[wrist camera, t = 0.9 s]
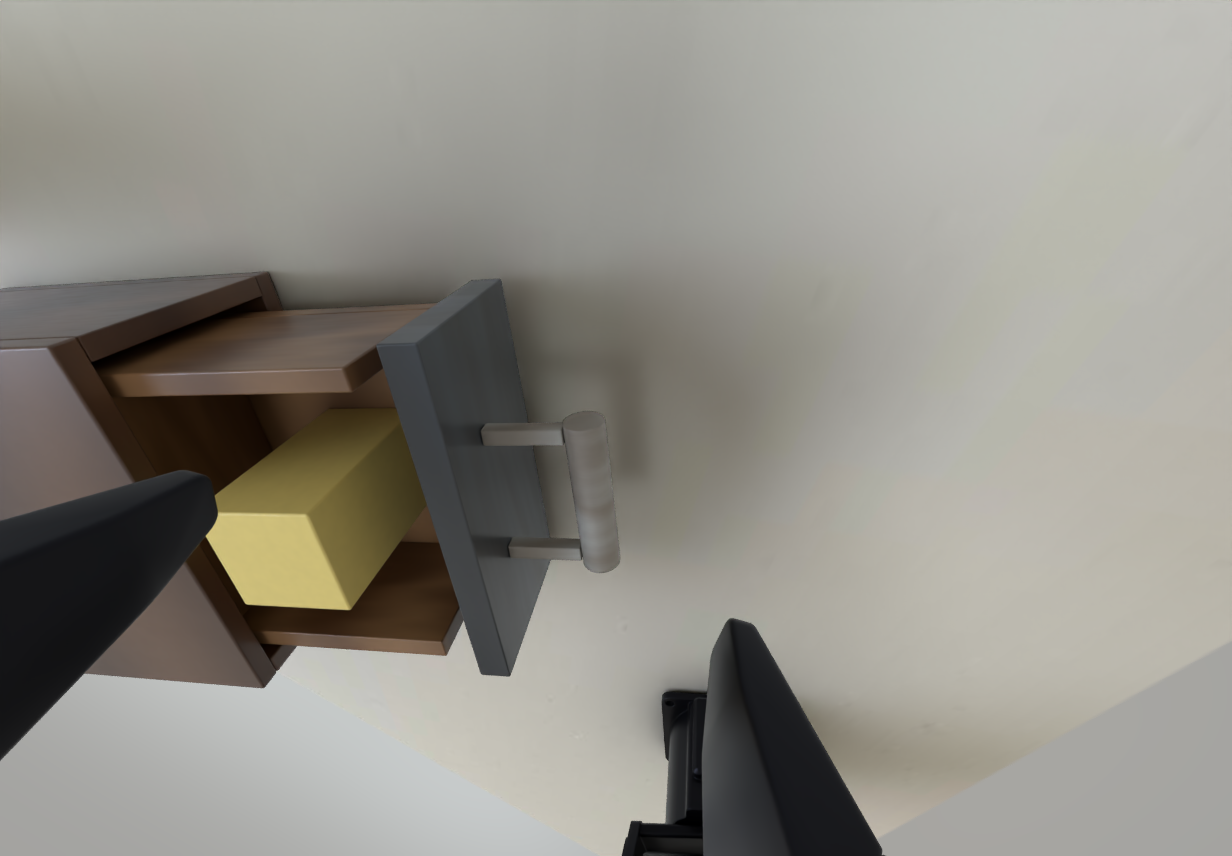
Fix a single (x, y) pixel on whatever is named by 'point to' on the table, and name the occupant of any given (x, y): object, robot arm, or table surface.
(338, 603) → the block
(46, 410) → the cabinet
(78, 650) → the robot arm
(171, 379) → the drawer
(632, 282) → the table surface
